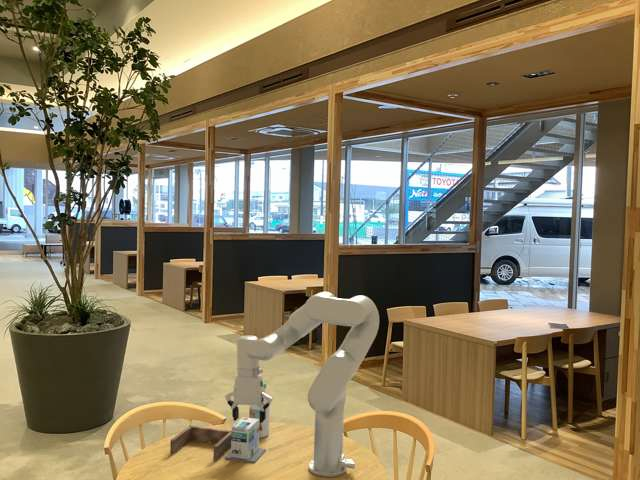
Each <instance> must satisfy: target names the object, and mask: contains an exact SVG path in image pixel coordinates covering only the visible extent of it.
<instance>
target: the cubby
mask: <svg viewBox="0 0 640 480" xmlns="http://www.w3.org/2000/svg"><path fill="white" fill-rule="evenodd" d="M231 431H232V430H227V429H222V428H221V429H219V428H212V427H211V428H210V427H203V426H197V425H189V426H187V427H186V428H185V429H183V430H182V431H181V432H180V433H178V434H177V435H176V436H174V437H173V438H172V439H170V448H169V449H170V451H169V452H170V453H169V454H170V455H175V454H176V453H177V452H179V451H180V450H181V449H182V448H184V447H185V446H186V445H187V444H189V443H190V442H191V441H193V442H199V443H200V442H201V443H207V442H211V443H210V444H214V443H216V444H215V445H213V459H212V460H213V462H218V460H219V459H221V457H222V456H223V455H225V454H226V453H227V452H228V451H229V450H231ZM178 450H179V451H178ZM225 452H226V453H225ZM224 453H225V454H224Z"/></svg>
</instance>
